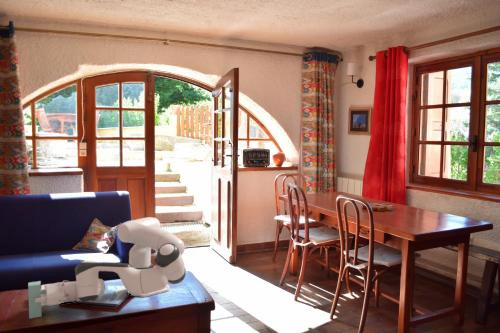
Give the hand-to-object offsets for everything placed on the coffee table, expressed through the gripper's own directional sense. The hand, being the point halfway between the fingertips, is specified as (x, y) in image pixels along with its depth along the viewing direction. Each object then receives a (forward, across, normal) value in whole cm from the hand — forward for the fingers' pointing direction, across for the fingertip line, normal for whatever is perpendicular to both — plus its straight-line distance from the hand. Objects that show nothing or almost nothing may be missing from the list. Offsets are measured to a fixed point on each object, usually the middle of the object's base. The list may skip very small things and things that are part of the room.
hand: (35, 296), depth 192 cm
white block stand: (-8, +19, -9) cm, 22 cm away
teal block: (0, +1, -9) cm, 9 cm away
